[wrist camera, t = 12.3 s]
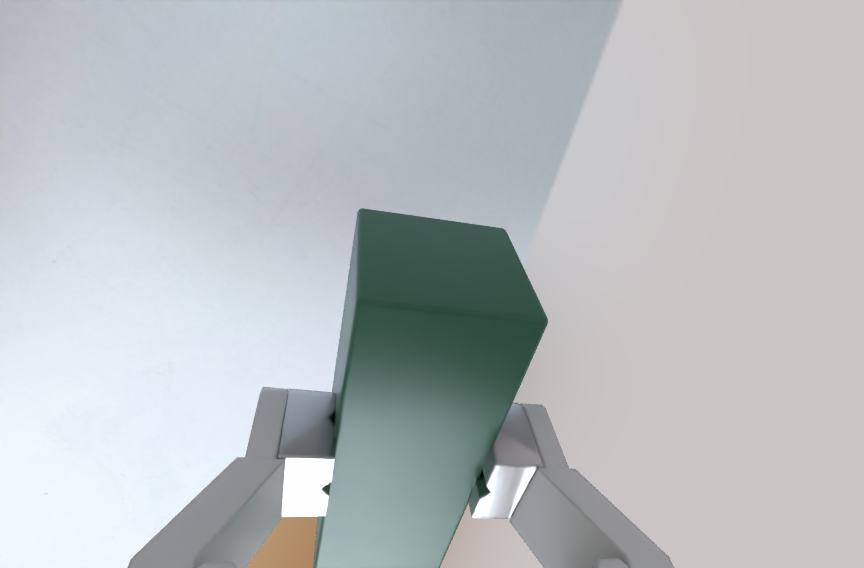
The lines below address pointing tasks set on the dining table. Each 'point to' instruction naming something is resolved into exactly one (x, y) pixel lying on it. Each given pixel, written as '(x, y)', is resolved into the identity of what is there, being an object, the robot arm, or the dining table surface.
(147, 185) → the dining table surface
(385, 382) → the green rectangular prism
